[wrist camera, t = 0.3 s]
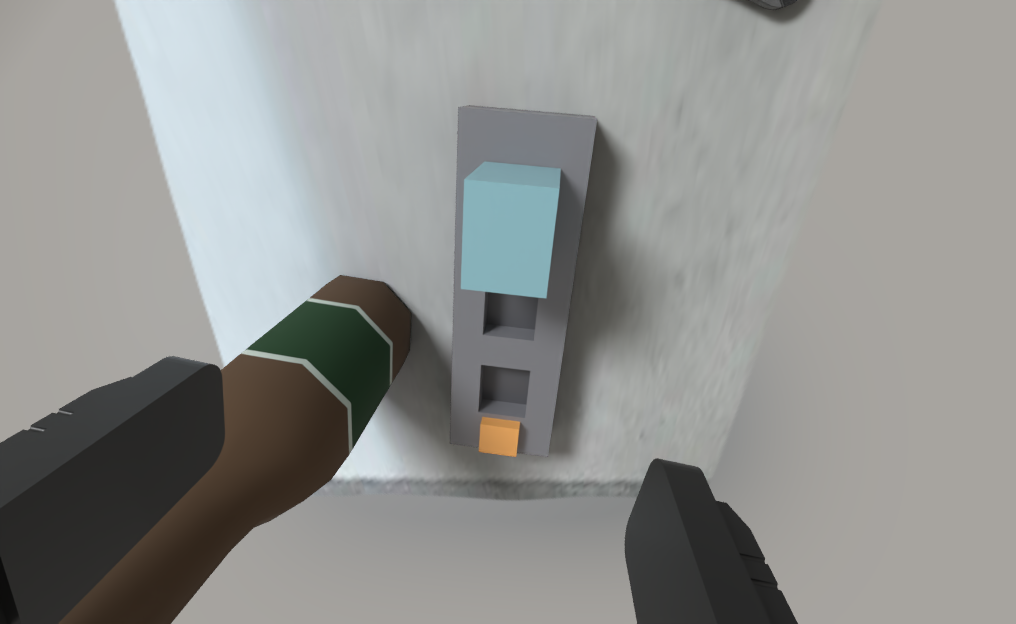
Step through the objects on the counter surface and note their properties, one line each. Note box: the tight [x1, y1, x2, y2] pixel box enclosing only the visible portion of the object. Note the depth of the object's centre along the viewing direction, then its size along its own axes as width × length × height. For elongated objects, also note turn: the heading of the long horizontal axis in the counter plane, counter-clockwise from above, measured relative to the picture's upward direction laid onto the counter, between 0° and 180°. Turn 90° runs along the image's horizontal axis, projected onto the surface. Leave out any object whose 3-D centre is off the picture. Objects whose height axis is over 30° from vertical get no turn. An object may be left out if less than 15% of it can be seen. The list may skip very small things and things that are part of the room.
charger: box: [461, 161, 561, 298], centre depth 24 cm, size 5×4×7 cm
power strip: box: [450, 105, 597, 457], centre depth 29 cm, size 22×7×4 cm, turn 176°
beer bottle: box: [58, 275, 411, 624], centre depth 22 cm, size 8×8×24 cm
